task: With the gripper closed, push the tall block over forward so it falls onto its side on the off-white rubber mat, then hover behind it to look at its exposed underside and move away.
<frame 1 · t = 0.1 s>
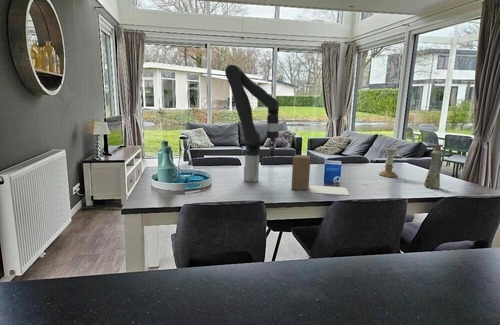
hand: (272, 155, 208), 17 cm above the table, tool pointing down, fingers open, 8 cm apart
mat: (328, 190, 194), on the table
block: (300, 188, 197), on the table
bottle: (431, 187, 207), on the table
candle holder: (387, 175, 237), on the table
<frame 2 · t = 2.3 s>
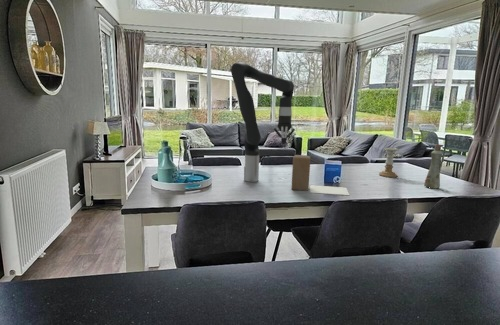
hand: (283, 144, 194), 27 cm above the table, tool pointing down, fingers closed
nothing on the table moved.
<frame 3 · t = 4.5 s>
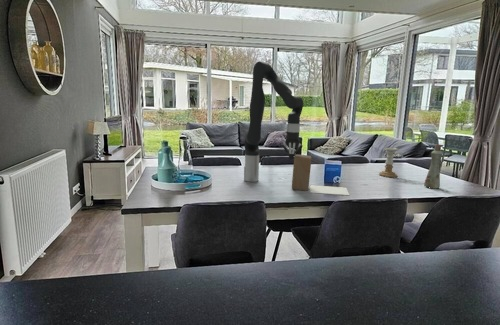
hand: (291, 159, 195), 18 cm above the table, tool pointing down, fingers closed
block: (300, 188, 197), on the table, touching gripper
everything else where it was.
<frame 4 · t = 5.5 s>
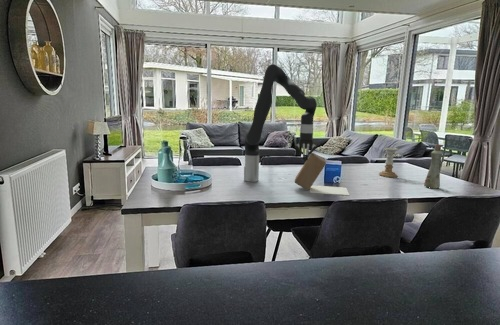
hand: (305, 160, 193), 17 cm above the table, tool pointing down, fingers closed
block: (301, 185, 196), point 2 cm above the table
everything else where it was.
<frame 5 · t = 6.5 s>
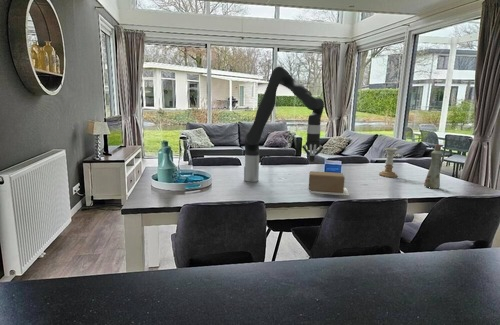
hand: (311, 161, 193), 17 cm above the table, tool pointing down, fingers closed
block: (308, 180, 195), point 5 cm above the table, touching mat
everything else where it was.
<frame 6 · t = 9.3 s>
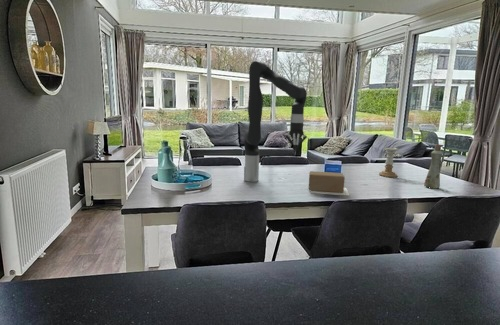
hand: (295, 150, 193), 23 cm above the table, tool pointing down, fingers closed
nothing on the table moved.
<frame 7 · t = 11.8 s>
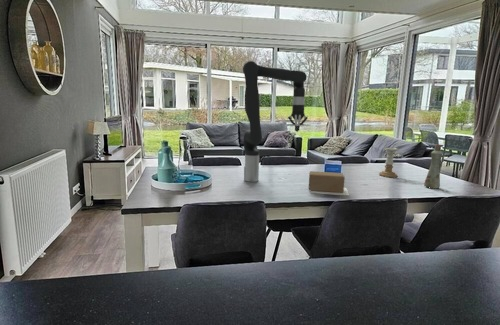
hand: (297, 131, 209), 33 cm above the table, tool pointing down, fingers closed
nothing on the table moved.
at the end: block tilted 90°; block inside the target area (1.2 cm from its centre), point 5.4 cm above the table; block touching mat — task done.
